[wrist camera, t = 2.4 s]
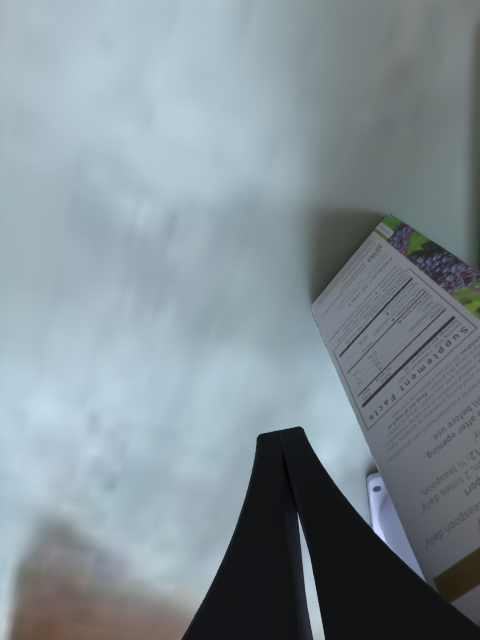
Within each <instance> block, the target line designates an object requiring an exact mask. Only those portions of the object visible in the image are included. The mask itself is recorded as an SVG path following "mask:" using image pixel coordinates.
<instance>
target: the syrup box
mask: <svg viewBox="0 0 480 640" xmlns="http://www.w3.org/2000/svg"><path fill="white" fill-rule="evenodd" d="M310 309H311V312H312V314H313V317H314V319H315V321H316V323H317V326H318V328H319V330H320V333H321V336H322V338H323V341H324V343H325V345H326V347H327V350H328V352H329V355H330V357H331V359H332V362H333V364H334V366H335V368H336V371H337V373H338V376H339V378H340V381H341V383H342V385H343V388H344V390H345V392H346V395H347V397H348V399H349V402H350V404H351V406H352V408H353V411H354V413H355V416H356V418H357V421H358V423H359V425H360V428H361V430H362V432H363V435H364V437H365V440H366V442H367V445H368V447H369V449H370V452H371V454H372V457H373V459H374V461H375V464H376V466H377V468H378V471H379V473H380V475H381V478H382V480H383V482H384V485H385V487H386V489H387V492H388V494H389V497H390V499H391V502H392V504H393V506H394V509H395V511H396V513H397V516H398V518H399V520H400V522H401V525H402V527H403V530H404V532H405V534H406V537H407V539H408V541H409V544H410V546H411V548H412V551H413V553H414V555H415V557H416V560H417V562H418V564H419V567H420V569H421V572H422V574H423V577H424V579H425V581H426V583H427V584H429V585H430V586H431V587H432V588H433V589H434V590H435V591H437V592H438V593H439V594H440V595H441V596H442V597H443V598H445V599H446V600H447V601H448V602H449V603H451V604H452V605H453V606H454V607H455V608H457V609H458V610H459V611H460V612H461V613H463V614H464V615H465V616H466V617H468V618H469V619H470V620H471V621H473V622H474V623H475V624H476V625H478V626H479V627H480V272H479V271H478V270H476V269H475V268H473V267H472V266H470V265H468V264H467V263H465V262H464V261H462V260H461V259H459V258H458V257H456V256H455V255H453V254H452V253H450V252H448V251H447V250H445V249H444V248H442V247H441V246H439V245H438V244H436V243H435V242H433V241H431V240H430V239H428V238H427V237H425V236H424V235H422V234H421V233H419V232H418V231H416V230H415V229H413V228H412V227H410V226H409V225H407V224H405V223H404V222H402V221H401V220H399V219H398V218H396V217H395V216H393V215H392V214H388V215H386V216H385V218H384V219H383V220H382V221H381V222H380V223H379V225H378V226H377V227H376V228H375V229H374V231H373V232H372V233H371V234H370V235H369V236H368V238H367V239H366V240H365V241H364V242H363V244H362V245H361V246H360V247H359V248H358V250H357V251H356V252H355V253H354V254H353V256H352V257H351V258H350V259H349V260H348V262H347V263H346V264H345V265H344V266H343V268H342V269H341V270H340V271H339V272H338V273H337V275H336V276H335V277H334V278H333V280H332V281H331V282H330V283H329V285H328V286H327V287H326V288H325V289H324V291H323V292H322V293H321V294H320V296H319V297H318V298H317V299H316V300H315V302H314V303H313V304H312V305H311V307H310Z"/></svg>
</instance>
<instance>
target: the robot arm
mask: <svg viewBox="0 0 480 640" xmlns="http://www.w3.org/2000/svg"><path fill="white" fill-rule="evenodd" d="M367 489H368V498H369V506H370V515H371V524H372V528H371V527H370V526H369V525H368V524H367V523H366V522H365V521H364V519H363V518H362V517H361V516H360V515H359V514H358V512H357V511H356V510H355V509H354V508H353V506H352V505H351V504H350V503H349V501H348V500H347V499H346V497H345V496H344V495H343V494H342V492H341V491H340V490H339V488H338V487H337V486H336V484H335V483H334V481H333V480H332V479H331V477H330V476H329V474H328V473H327V471H326V470H325V468H324V467H323V465H322V464H321V462H320V461H319V459H318V457H317V456H316V454H315V452H314V451H313V449H312V447H311V445H310V443H309V441H308V439H307V437H306V434H305V432H304V429H303V428H301V427H300V426H299V427H294V428H289V429H284V430H279V431H273V432H268V433H263V434H260V435H259V436H258V437H257V445H256V453H255V459H254V464H253V469H252V474H251V478H250V482H249V486H248V490H247V493H246V497H245V500H244V504H243V507H242V510H241V513H240V516H239V519H238V522H237V525H236V528H235V531H234V533H233V536H232V539H231V541H230V544H229V546H228V549H227V551H226V553H225V556H224V558H223V560H222V563H221V565H220V567H219V569H218V571H217V574H216V576H215V578H214V580H213V582H212V584H211V586H210V588H209V590H208V592H207V594H206V596H205V598H204V600H203V602H202V604H201V605H200V607H199V609H198V611H197V613H196V614H195V616H194V618H193V620H192V622H191V624H190V625H189V627H188V629H187V631H186V633H185V634H184V636H183V638H182V639H181V640H313V636H312V630H311V625H310V619H309V613H308V608H307V600H306V593H305V584H304V574H303V564H302V554H301V544H300V533H299V523H298V515H299V519H300V522H301V526H302V529H303V533H304V536H305V540H306V543H307V547H308V550H309V554H310V558H311V564H312V569H313V575H314V580H315V585H316V591H317V596H318V602H319V607H320V613H321V618H322V624H323V630H324V635H325V640H480V627H479V626H478V625H476V624H475V623H474V622H473V621H471V620H470V619H469V618H468V617H466V616H465V615H464V614H463V613H461V612H460V611H459V610H458V609H457V608H455V607H454V606H453V605H452V604H451V603H449V602H448V601H447V600H446V599H445V598H443V597H442V596H441V595H440V594H439V593H438V592H437V591H435V590H434V589H433V588H432V587H431V586H430V585H429V584H427V583H426V581H425V579H424V577H423V574H422V572H421V569H420V567H419V564H418V562H417V560H416V557H415V555H414V553H413V551H412V548H411V546H410V544H409V541H408V539H407V537H406V534H405V532H404V530H403V527H402V525H401V522H400V520H399V518H398V516H397V513H396V511H395V509H394V506H393V504H392V502H391V499H390V497H389V494H388V492H387V489H386V487H385V485H384V482H383V480H382V478H381V475H380V473H379V472H378V473H373V474H371V475H369V476H368V477H367ZM297 512H298V514H297Z"/></svg>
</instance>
